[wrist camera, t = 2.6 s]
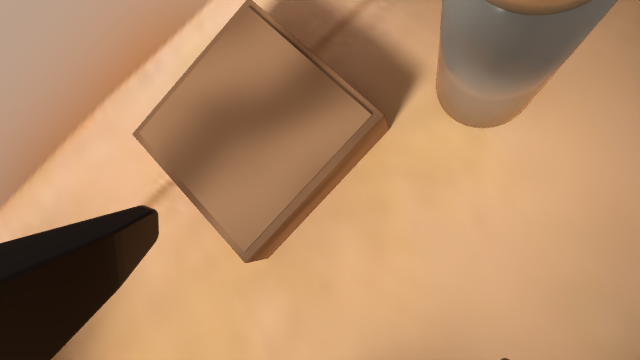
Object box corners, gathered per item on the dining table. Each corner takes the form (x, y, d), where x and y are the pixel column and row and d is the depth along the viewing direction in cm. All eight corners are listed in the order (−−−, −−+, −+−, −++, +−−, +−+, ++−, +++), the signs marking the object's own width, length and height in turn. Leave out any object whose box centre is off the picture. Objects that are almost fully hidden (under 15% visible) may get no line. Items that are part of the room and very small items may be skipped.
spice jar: (556, 76, 20) (737, -128, 8) (487, 146, 20) (568, 46, 9) (480, 21, 21) (546, -222, 10) (417, 89, 22) (407, -65, 10)
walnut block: (389, 129, 22) (383, 113, 19) (268, 258, 23) (244, 263, 20) (269, 24, 24) (247, -4, 21) (165, 144, 25) (130, 133, 22)
